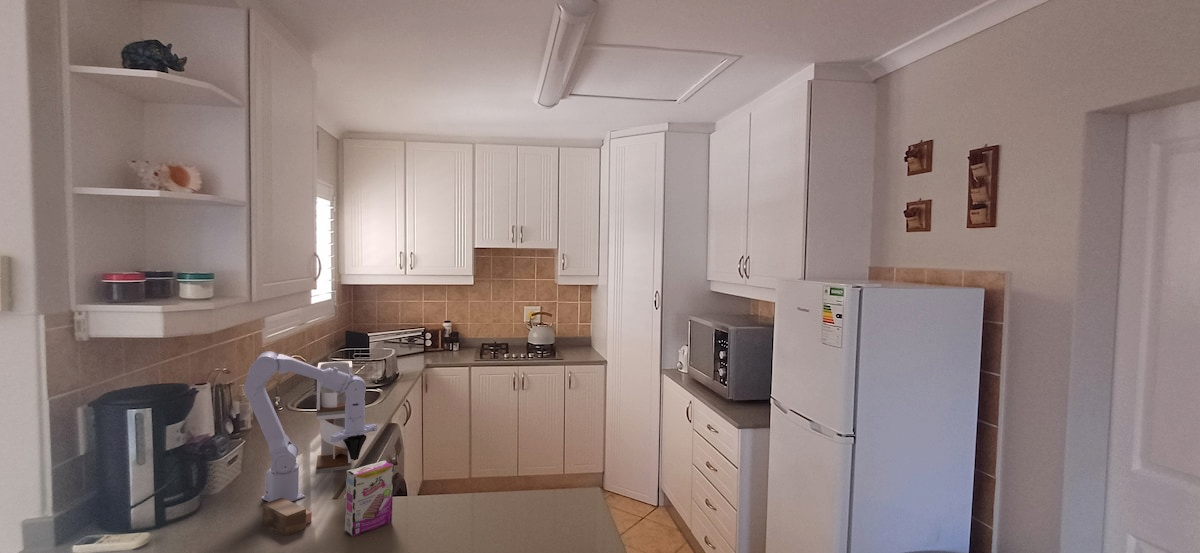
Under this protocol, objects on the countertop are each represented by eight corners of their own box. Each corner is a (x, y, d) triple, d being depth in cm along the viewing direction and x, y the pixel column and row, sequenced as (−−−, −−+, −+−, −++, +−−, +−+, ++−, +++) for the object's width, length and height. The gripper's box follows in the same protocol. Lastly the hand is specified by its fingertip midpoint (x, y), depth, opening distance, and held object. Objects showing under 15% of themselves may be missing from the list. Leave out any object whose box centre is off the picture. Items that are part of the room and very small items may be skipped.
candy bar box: (353, 538, 141) (354, 475, 140) (344, 531, 144) (345, 470, 144) (393, 522, 150) (394, 463, 149) (383, 516, 153) (384, 459, 152)
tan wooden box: (262, 522, 147) (262, 503, 147) (281, 515, 152) (281, 497, 151) (286, 535, 141) (286, 516, 141) (305, 528, 145) (305, 508, 145)
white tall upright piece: (317, 461, 192) (318, 362, 191) (350, 457, 196) (351, 360, 195) (315, 473, 182) (317, 368, 180) (350, 468, 186) (352, 366, 185)
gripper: (340, 423, 161) (340, 469, 162) (383, 412, 174) (382, 455, 174) (327, 419, 165) (326, 463, 165) (369, 409, 177) (369, 450, 178)
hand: (354, 459), depth 170 cm, fingers closed
